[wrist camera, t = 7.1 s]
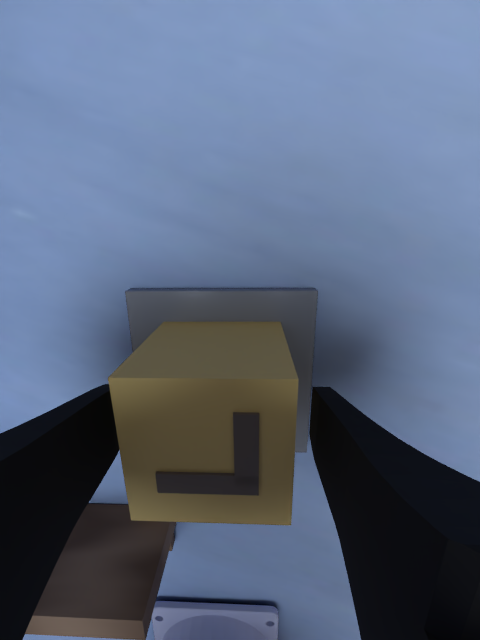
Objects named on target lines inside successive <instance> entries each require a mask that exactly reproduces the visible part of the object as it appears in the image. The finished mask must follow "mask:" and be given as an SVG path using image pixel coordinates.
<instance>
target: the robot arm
mask: <svg viewBox="0 0 480 640" xmlns="http://www.w3.org/2000/svg"><path fill="white" fill-rule="evenodd" d="M309 435H310V440H311V445H312V451H313V455H314V460H315V463H316V467H317V470H318V473H319V476H320V479H321V482H322V485H323V488H324V491H325V494H326V497H327V500H328V503H329V507H330V510H331V513H332V516H333V519H334V522H335V525H336V529H337V532H338V536H339V539H340V544H341V548H342V552H343V557H344V561H345V565H346V570H347V574H348V579H349V583H350V588H351V592H352V597H353V602H354V606H355V611H356V616H357V620H358V625H359V630H360V635H361V640H480V482H479V481H477V480H474V479H472V478H470V477H468V476H466V475H464V474H462V473H460V472H458V471H456V470H454V469H452V468H450V467H448V466H446V465H444V464H442V463H440V462H438V461H436V460H434V459H432V458H431V457H429V456H427V455H425V454H423V453H422V452H420V451H418V450H417V449H415V448H413V447H412V446H410V445H408V444H406V443H405V442H403V441H402V440H400V439H398V438H397V437H395V436H394V435H392V434H391V433H389V432H388V431H386V430H385V429H384V428H382V427H381V426H379V425H378V424H376V423H375V422H374V421H372V420H371V419H370V418H368V417H367V416H366V415H364V414H363V413H362V412H360V411H359V410H358V409H357V408H355V407H354V406H353V405H352V404H350V403H349V402H348V401H347V400H346V399H344V398H343V397H342V396H341V395H339V394H338V393H337V392H336V391H334V390H333V389H332V388H330V387H313V390H312V404H311V418H310V432H309ZM118 451H119V443H118V437H117V431H116V424H115V418H114V412H113V406H112V400H111V394H110V388H109V384H104V385H102V386H99V387H97V388H95V389H92V390H90V391H88V392H86V393H84V394H82V395H80V396H78V397H76V398H74V399H72V400H70V401H68V402H66V403H64V404H62V405H60V406H58V407H57V408H55V409H53V410H51V411H48V412H46V413H44V414H42V415H40V416H38V417H36V418H34V419H32V420H29V421H27V422H25V423H23V424H21V425H19V426H17V427H14V428H12V429H10V430H8V431H5V432H3V433H0V640H22V639H23V637H24V635H25V632H26V630H27V628H28V625H29V623H30V621H31V618H32V616H33V614H34V611H35V609H36V607H37V604H38V602H39V600H40V598H41V596H42V593H43V591H44V589H45V587H46V585H47V583H48V580H49V578H50V576H51V574H52V572H53V569H54V567H55V565H56V563H57V561H58V559H59V557H60V555H61V553H62V551H63V549H64V547H65V545H66V542H67V540H68V538H69V536H70V534H71V532H72V530H73V528H74V527H75V525H76V523H77V521H78V519H79V518H80V516H81V514H82V512H83V511H84V509H85V507H86V506H87V504H88V503H89V501H90V499H91V498H92V496H93V494H94V493H95V491H96V489H97V488H98V486H99V484H100V483H101V481H102V479H103V478H104V476H105V474H106V473H107V471H108V469H109V468H110V466H111V464H112V463H113V461H114V459H115V457H116V456H117V454H118ZM278 619H279V617H278V610H277V609H276V608H275V607H273V606H264V605H242V604H219V603H197V602H174V601H156V602H155V606H154V609H153V613H152V623H153V629H154V636H155V640H278Z"/></svg>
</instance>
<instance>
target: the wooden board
mask: <svg viewBox="0 0 480 640" xmlns="http://www.w3.org/2000/svg"><path fill="white" fill-rule="evenodd" d="M175 526H176V522H166V521H134V520H131V517H130V511H129V505H117V504H87V506H86V507H85V509H84V511H83V512H82V514H81V516H80V518H79V519H78V521H77V523H76V525H75V527H74V528H73V530H72V532H71V534H70V536H69V538H68V540H67V542H66V545H65V547H64V549H63V551H62V553H61V555H60V557H59V559H58V561H57V563H56V565H55V567H54V569H53V572H52V574H51V576H50V578H49V580H48V583H47V585H46V587H45V589H44V591H43V593H42V596H41V598H40V600H39V602H38V604H37V607H36V609H35V611H34V614H33V616H32V618H31V621H30V623H29V625H28V628H27V630H26V632H25V634H36V635H56V636H76V637H95V638H115V639H135V640H146V636H147V632H148V628H149V625H150V621H151V617H152V613H153V609H154V606H155V602H156V598H157V594H158V590H159V587H160V583H161V579H162V575H163V571H164V568H165V564H166V560H167V556H168V552H169V551H172V549H173V545H174V541H175V537H174V529H175Z"/></svg>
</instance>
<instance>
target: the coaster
mask: <svg viewBox="0 0 480 640" xmlns="http://www.w3.org/2000/svg"><path fill="white" fill-rule="evenodd" d="M125 295H126V302H127V310H128V318H129V326H130V334H131V341H132V349H133V352H134V351H135V350H136V349H137V348H138V347H139V346H140V345H141V344H142V343H143V342H144V341H145V340H146V339H147V338H148V337H149V336H150V335H151V334H152V333H153V332H154V331H155V330H156V329H157V328H158V327H159V326H160V325H161V324H162V323H163V322H281V325H282V328H283V332H284V335H285V338H286V341H287V344H288V347H289V351H290V354H291V357H292V360H293V363H294V367H295V370H296V373H297V376H298V379H299V380H298V399H297V419H296V438H295V452H307V439H308V425H309V411H310V396H311V382H312V368H313V353H314V339H315V324H316V310H317V296H318V291H317V290H316V289H315V288H182V289H129V290H127V291H125Z"/></svg>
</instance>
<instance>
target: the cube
mask: <svg viewBox="0 0 480 640" xmlns="http://www.w3.org/2000/svg"><path fill="white" fill-rule="evenodd" d="M298 380H299V379H298V376H297V373H296V370H295V367H294V363H293V360H292V357H291V354H290V351H289V347H288V344H287V341H286V338H285V335H284V332H283V328H282V325H281V322H163V323H162V324H161V325H160V326H159V327H158V328H157V329H156V330H155V331H154V332H153V333H152V334H151V335H150V336H149V337H148V338H147V339H146V340H145V341H144V342H143V343H142V344H141V345H140V346H139V347H138V348H137V349H136V350H135V351H134V352H133V353H132V354H131V355H130V356H129V357H128V358H127V359H126V360H125V361H124V362H123V363H122V364H121V365H120V366H119V367H118V368H117V369H116V370H115V371H114V372H113V373H112V374H111V375H110V376H109V377H108V381H109V388H110V394H111V400H112V406H113V412H114V418H115V424H116V431H117V437H118V443H119V449H120V455H121V461H122V467H123V474H124V480H125V486H126V492H127V498H128V504H129V511H130V517H131V520H134V521H166V522H199V523H232V524H265V525H291V515H292V496H293V477H294V457H295V438H296V419H297V399H298Z"/></svg>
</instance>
